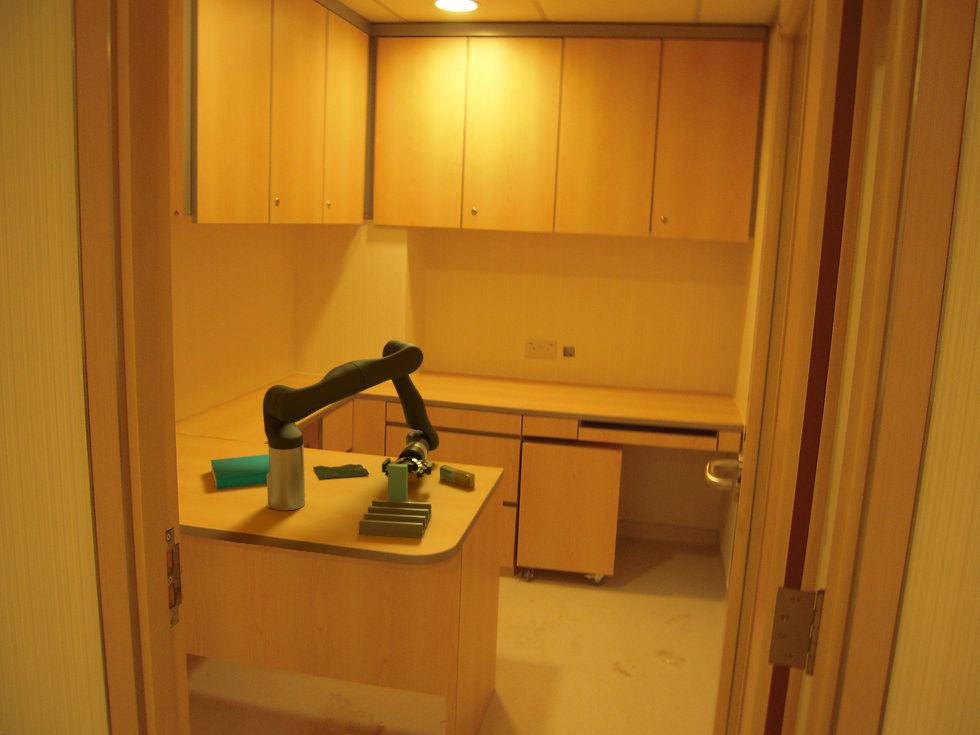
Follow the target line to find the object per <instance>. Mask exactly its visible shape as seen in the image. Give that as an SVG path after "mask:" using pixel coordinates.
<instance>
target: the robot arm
mask: <svg viewBox="0 0 980 735" xmlns="http://www.w3.org/2000/svg"><path fill="white" fill-rule="evenodd" d="M381 355H382V356H381V357H378V358H377V357H375V358H365V359H357V360H351V361H348V362H346V363H343V364H340V365H338V366H336V367H334V368H332V369H330V370H329V371H328V372H327V373H326V374H325V376H324V377H323V378H322V379H320V380H319V381H317V382H316V383H314V384H311V385H307V386H304V387H300V388H294V387H290V386H288V385H284V384H275V385H273V386H271V387H269V388H268V389H267V391H266V392H265V394H264V397H263V401H262V417H263V428H264V434H265V437H266V439H267V444H268V454H269V473H268V474H267V483H266V488H267V492H266V493H267V508H272V509H274V510H276V511H284V512H285V511H293V510H294V511H295V510H298V509H301V508H303V507H304V506H305V504H306V492H305V490H306V486H305V483H306V482H305V481H306V480H305V455H304V454H305V452H304V451H305V450H304V449H305V446H304V434H303V433H302V431H301V430H300V428H298V426H297V424H296V423H298V422H300V421H301V420H304V419H305V418H307V417H309V416H311V415H312V414H314V413H316V412H319V410H321V409H323V408H326V407H328V406H330V405H332V404H333V405H334V404H335V403H337V402H340V401H343V400H345V399H348V398H350V397H352V396H354V395H357V394H361V393H362V392H365V391H366V390H368V389H372V388H373V387H376V386H378V385H381V384H383V383H385V382H388V381H390V380H391V382H392V384H393V386H394V389H395V391H396V394H397V396H398V399H399V402H400V404H401V407H402V411H403V416H404V419H405V423H406V426H407V427H408V428H409V429H411V430H413V431H409V432H408V433H407V434H406V436H405V444H406V445H405V446H404V447H403V449H402V451H401V452H400V454H399V456H398V458H397V459H395V460H391V458H390V457H386V458H385V460H384V461H383V462H382V463H381V473H384V475H385V476H386V478H388V465H389V464H407V465H408V474H416V479H417V480H420V478H422V477H423V476H425V474H426V475H427V476H430V475H432V472H433V460H432V459H429V460H428V461H427V456H428V454H429V452H433V451H436V450H437V449H438V448H439V444H440V437H439V434H438V433H437V432H438V431H437V430H436V429H435V427H434V426H433V425H432V423H431V420H430V419H429V417H428V413H427V408H426V405H425V404H426V403H425V401H424V399H423V397H422V395H421V393H420V391H419V390H418V388H417V387H416V385H415V384H414V382H413V380H412V379H411V376H410V374H413V373H415V372H416V371H418V369H420V368H421V366H422V364H423V361H424V353H423V350H422V349H421V348H420V347H418V346H417V345H415V344H414V343H410V342H406V341H405V340H400V339H392V340H389V341H388V342H387V343H386V344H384V347H383V349H382V354H381Z"/></svg>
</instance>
